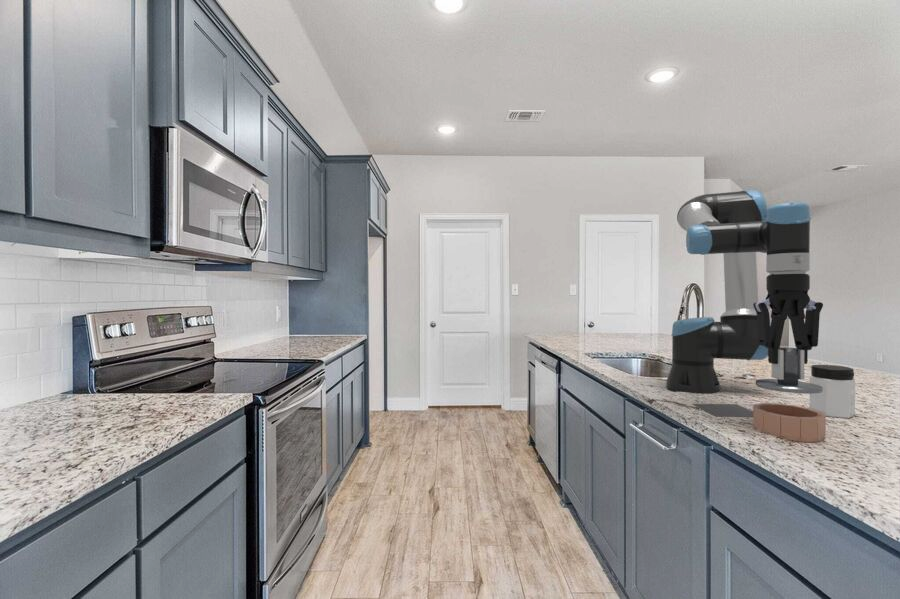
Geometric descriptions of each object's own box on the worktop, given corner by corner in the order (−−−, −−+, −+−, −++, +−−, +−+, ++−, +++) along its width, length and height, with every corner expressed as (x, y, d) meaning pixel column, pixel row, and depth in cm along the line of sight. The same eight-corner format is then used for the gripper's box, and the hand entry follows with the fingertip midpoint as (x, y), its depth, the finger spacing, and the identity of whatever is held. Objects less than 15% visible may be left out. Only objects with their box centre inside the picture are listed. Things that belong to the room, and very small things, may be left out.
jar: (847, 420, 102) (848, 371, 102) (805, 412, 109) (805, 366, 109) (858, 414, 107) (858, 367, 107) (817, 407, 114) (817, 363, 114)
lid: (744, 382, 100) (744, 345, 100) (796, 382, 99) (795, 345, 99) (778, 393, 88) (778, 351, 88) (837, 393, 87) (837, 351, 87)
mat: (691, 406, 117) (691, 403, 117) (736, 406, 116) (736, 404, 116) (715, 418, 105) (715, 416, 105) (766, 419, 104) (766, 417, 104)
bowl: (741, 423, 101) (741, 402, 100) (795, 424, 100) (795, 403, 100) (777, 441, 88) (777, 418, 88) (840, 442, 87) (840, 419, 87)
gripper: (759, 273, 90) (759, 381, 90) (841, 272, 89) (841, 382, 89) (738, 274, 98) (738, 375, 98) (813, 274, 97) (813, 375, 97)
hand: (787, 378), depth 94 cm, fingers closed on lid, 4 cm apart
